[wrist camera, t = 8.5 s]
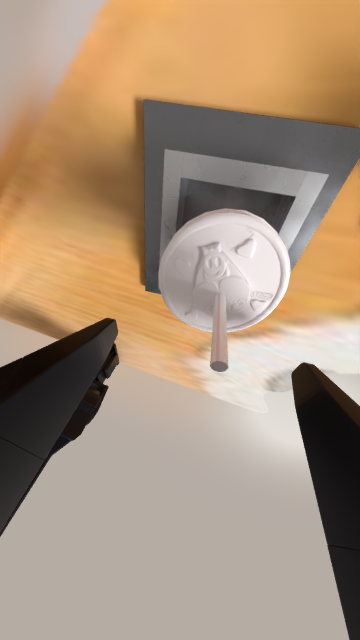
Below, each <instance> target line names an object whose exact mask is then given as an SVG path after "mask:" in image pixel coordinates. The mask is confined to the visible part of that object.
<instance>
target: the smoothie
mask: <svg viewBox="0 0 360 640" xmlns="http://www.w3.org/2000/svg"><path fill="white" fill-rule="evenodd" d="M158 279H159V287H160V291H161V294H162V297H163V299H164V301H165V303H166V305H167V306H168V308H169V309H170V310H171V312H172V313H173V314H174V315H175V316H176V317H177V318H179V319H180V320H181V321H183V322H184V323H186V324H188V325H189V326H192V327H194V328H196V329H199V330H203V331H207V332H212V346H211V361H210V367H211V368H212V369H213V370H214V371H218V372H223V371H226V370H227V369H228V349H227V332H233V331H238V330H242V329H245V328H247V327H250V326H252V325H254V324H256V323H258V322H259V321H261V320H262V319H264V318H265V317H266V316H268V315H269V314H270V313H271V312H272V311H273V310H274V309H275V308H276V306H277V305H278V304H279V302H280V301H281V299H282V298H283V296H284V294H285V292H286V289H287V286H288V283H289V279H290V259H289V255H288V252H287V249H286V247H285V245H284V243H283V241H282V240H281V238H280V237H279V235H278V233H277V232H276V231H275V230H274V229H273V228H272V227H271V226H270V225H269V224H268V223H267V222H266V221H265V220H264V219H263V218H261V217H259V216H256V215H254V214H252V213H250V212H248V211H245V210H236V209H226V208H224V209H219V210H214V211H210V212H205V213H203V214H201V215H199V216H197V217H195V218H194V219H192V220H190V221H188V222H187V223H186V224H185V225H184V226H183V227H182V228H181V229H180V230H178V231H177V232H176V233H175V234H174V236H173V238H172V239H171V241H170V243H169V244H168V246H167V247H166V249H165V251H164V253H163V256H162V258H161V262H160V266H159V274H158Z"/></svg>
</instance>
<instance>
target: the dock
mask: <svg viewBox="0 0 360 640" xmlns="http://www.w3.org/2000/svg"><path fill="white" fill-rule="evenodd" d="M359 157H360V128H353V127H345V126H338V125H331V124H323V123H316V122H308V121H301V120H293V119H286V118H278V117H271V116H264V115H256V114H249V113H241V112H234V111H226V110H219V109H211V108H204V107H197V106H189V105H182V104H174V103H167V102H159V101H152V100H144V193H145V291H149V292H153V293H158V294H161V291H160V287H159V279H158V274H159V266H160V262H161V258H162V256H163V253H164V251H165V249H166V247H167V246H168V244H169V243H170V241H171V239H172V238H173V236H174V234H175V233H176V232H177V231H178V230H180V229H181V228H182V227H183V226H184V225H185V224H186V223H187V222H188V221H190V220H192V219H194V218H195V217H197V216H199V215H201V214H203V213H205V212H210V211H214V210H219V209H224V208H226V209H236V210H245V211H248V212H250V213H252V214H254V215H256V216H259V217H261V218H263V219H264V220H265V221H266V222H267V223H268V224H269V225H270V226H271V227H272V228H273V229H274V230H275V231H276V232H277V233H278V235H279V237H280V238H281V240H282V241H283V243H284V245H285V247H286V249H287V252H288V255H289V259H290V273H291V271H292V270H293V268H294V266H295V264H296V263H297V261H298V259H299V258H300V256H301V254H302V253H303V251H304V249H305V248H306V246H307V244H308V243H309V241H310V239H311V238H312V236H313V234H314V233H315V231H316V229H317V228H318V226H319V224H320V223H321V221H322V219H323V218H324V216H325V214H326V213H327V211H328V209H329V208H330V206H331V204H332V203H333V201H334V199H335V198H336V196H337V194H338V193H339V191H340V189H341V188H342V186H343V184H344V182H345V181H346V179H347V177H348V176H349V174H350V172H351V171H352V169H353V167H354V166H355V164H356V162H357V161H358V159H359Z"/></svg>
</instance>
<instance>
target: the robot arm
mask: <svg viewBox="0 0 360 640" xmlns="http://www.w3.org/2000/svg"><path fill="white" fill-rule="evenodd" d="M117 334H118V329H117V323H116V320H115V319H111V318H105V319H103V320H101V321H99V322H97V323H95V324H92V325H90V326H88V327H86V328H84V329H82V330H80V331H78V332H75V333H73V334H71V335H69V336H67V337H65V338H63V339H60V340H58V341H56V342H54V343H52V344H50V345H48V346H46V347H43V348H41V349H39V350H37V351H35V352H33V353H31V354H29V355H26V356H24V357H23V358H20V359H18V360H16V361H13V362H11V363H9V364H7V365H5V366H2V367H0V536H1V535H2V533H3V532H4V530H5V528H6V527H7V525H8V524H9V522H10V521H11V519H12V517H13V516H14V514H15V513H16V511H17V510H18V508H19V506H20V505H21V503H22V502H23V500H24V499H25V497H26V495H27V494H28V492H29V491H30V489H31V487H32V486H33V484H34V483H35V481H36V479H37V478H38V476H39V475H40V473H41V472H42V470H43V468H44V467H45V465H46V464H47V462H48V460H49V459H50V458H51V456H52V455H53V454H54V453H56V452H57V451H58V450H60V449H61V448H63V447H64V446H65V445H66V444H68V443H69V442H70V441H73V440H75V439H76V438H77V437H78V436H79V435H81V433H82V431H83V429H84V428H85V426H86V425H87V424H89V423H90V421H91V420H92V419H93V418H94V416H95V415H96V413H97V412H98V410H99V408H100V405H101V403H102V401H103V399H104V396H105V394H106V392H107V389H108V386H107V385H104V384H103V382H104V381H105V379H106V378H107V379H108V378H109V377H110V376H111V374H112V372H113V370H114V369H115V367H116V365H118V364H119V358H118V354H117V349H116V345H115V344H114V341H115V339H116V337H117ZM291 378H292V386H293V394H294V401H295V408H296V413H297V418H298V422H299V426H300V431H301V435H302V439H303V443H304V448H305V451H306V456H307V460H308V465H309V468H310V473H311V477H312V481H313V486H314V490H315V494H316V499H317V503H318V507H319V511H320V515H321V520H322V524H323V528H324V532H325V537H326V541H327V544H328V550H329V554H330V559H331V563H332V567H333V571H334V576H335V580H336V584H337V588H338V593H339V597H340V601H341V605H342V609H343V614H344V618H345V622H346V627H347V631H348V635H349V640H360V406H359V405H358V404H357V403H356V402H355V401H354V400H352V399H351V398H350V397H349V396H348V395H347V394H346V393H345V392H344V391H342V390H341V389H340V388H339V387H338V386H337V385H336V384H335V383H334V382H332V381H331V380H330V379H329V378H328V377H327V376H326V375H325V374H324V373H323V372H321V371H320V370H319V369H318V368H317V367H316V366H315V365H313V364H309V363H301V364H300V365H299V366H298V367H297V368H296V369H295V370H294V371H293V372H292V376H291Z"/></svg>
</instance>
